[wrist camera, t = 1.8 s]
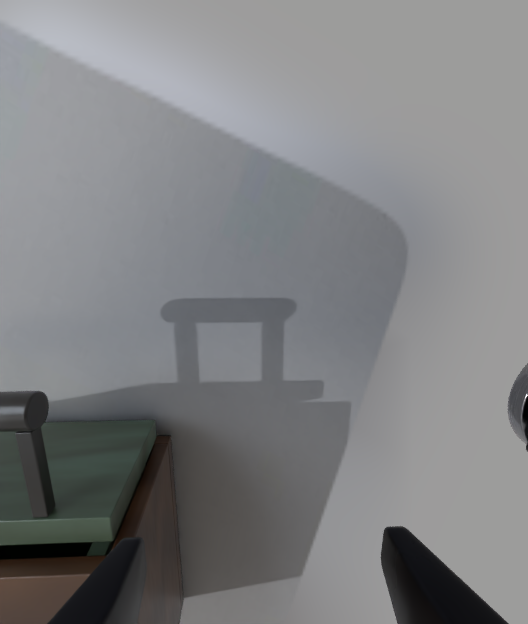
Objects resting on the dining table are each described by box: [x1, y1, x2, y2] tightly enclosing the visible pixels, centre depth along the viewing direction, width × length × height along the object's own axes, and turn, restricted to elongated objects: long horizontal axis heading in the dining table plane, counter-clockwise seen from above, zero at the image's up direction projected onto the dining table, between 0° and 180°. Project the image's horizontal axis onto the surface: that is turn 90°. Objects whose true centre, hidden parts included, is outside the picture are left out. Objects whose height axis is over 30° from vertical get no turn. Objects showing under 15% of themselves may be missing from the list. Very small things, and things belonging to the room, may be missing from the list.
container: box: [0, 391, 157, 560], centre depth 17 cm, size 18×10×7 cm, turn 0°
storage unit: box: [0, 436, 183, 624], centre depth 19 cm, size 14×12×9 cm
